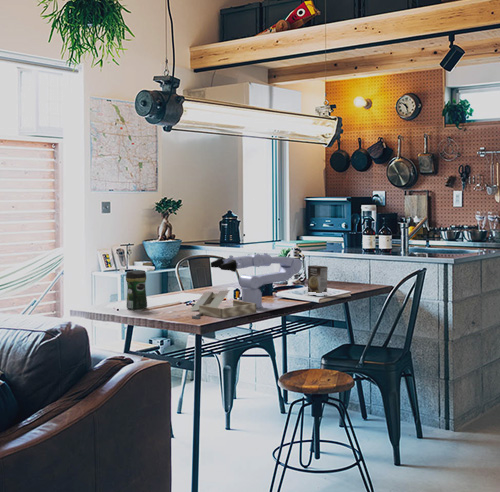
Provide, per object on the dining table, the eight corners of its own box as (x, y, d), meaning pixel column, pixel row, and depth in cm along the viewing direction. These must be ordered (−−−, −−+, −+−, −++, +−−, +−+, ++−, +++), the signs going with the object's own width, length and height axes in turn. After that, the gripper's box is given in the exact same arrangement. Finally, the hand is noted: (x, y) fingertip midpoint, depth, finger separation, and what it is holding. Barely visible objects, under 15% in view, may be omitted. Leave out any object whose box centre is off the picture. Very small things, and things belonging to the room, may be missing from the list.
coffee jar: (140, 306, 339) (139, 268, 338) (149, 308, 333) (149, 270, 332) (123, 308, 332) (122, 270, 331) (132, 310, 327) (132, 271, 325)
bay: (234, 308, 331) (234, 300, 331) (256, 312, 320) (256, 303, 320) (199, 313, 316) (199, 305, 316) (220, 317, 305) (220, 309, 305)
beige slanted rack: (226, 320, 321) (236, 296, 331) (217, 308, 317) (227, 284, 326) (198, 322, 330) (209, 299, 340) (189, 311, 326) (200, 287, 335)
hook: (201, 315, 313) (201, 312, 313) (207, 315, 312) (207, 313, 311) (191, 318, 304) (191, 316, 304) (198, 319, 303) (198, 316, 303)
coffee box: (307, 295, 375) (307, 265, 373) (315, 294, 379) (315, 265, 378) (319, 297, 368) (319, 267, 367) (327, 295, 372) (327, 266, 371)
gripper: (229, 252, 333) (206, 255, 325) (248, 256, 322) (225, 259, 313) (229, 266, 334) (207, 270, 326) (248, 271, 323) (225, 275, 315)
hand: (216, 266), depth 320 cm, fingers open, 7 cm apart
